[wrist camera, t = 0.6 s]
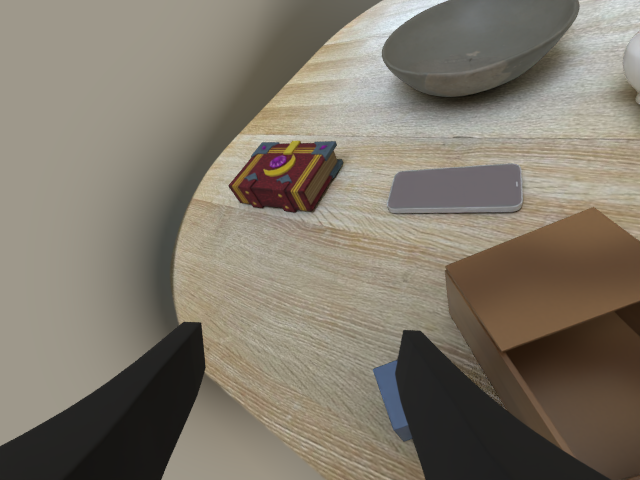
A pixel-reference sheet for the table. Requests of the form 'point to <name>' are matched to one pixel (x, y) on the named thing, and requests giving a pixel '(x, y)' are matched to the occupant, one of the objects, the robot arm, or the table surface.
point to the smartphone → (457, 190)
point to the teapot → (633, 64)
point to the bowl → (475, 43)
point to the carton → (561, 334)
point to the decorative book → (287, 175)
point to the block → (392, 398)
